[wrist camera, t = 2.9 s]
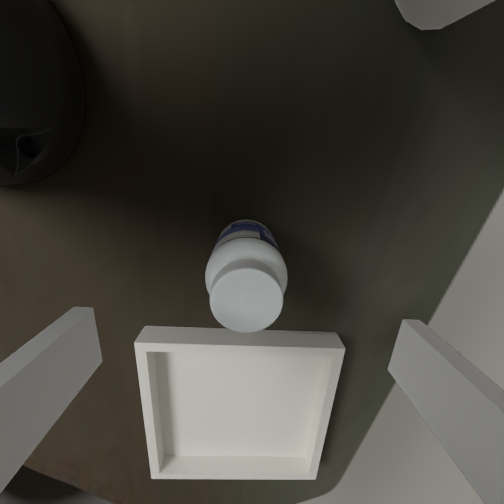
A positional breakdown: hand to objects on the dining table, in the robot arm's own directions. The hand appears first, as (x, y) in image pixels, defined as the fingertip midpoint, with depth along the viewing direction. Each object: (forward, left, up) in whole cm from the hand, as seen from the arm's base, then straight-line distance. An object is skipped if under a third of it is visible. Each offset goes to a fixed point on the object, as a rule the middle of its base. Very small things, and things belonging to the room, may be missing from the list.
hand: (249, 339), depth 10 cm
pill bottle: (0, 0, -13) cm, 13 cm away
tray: (0, -19, -12) cm, 22 cm away
